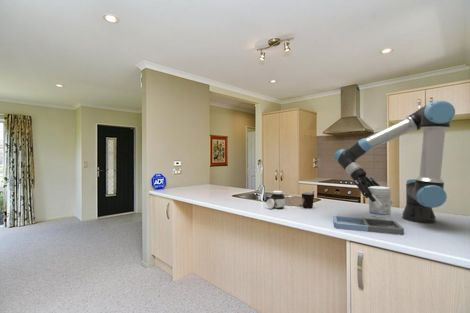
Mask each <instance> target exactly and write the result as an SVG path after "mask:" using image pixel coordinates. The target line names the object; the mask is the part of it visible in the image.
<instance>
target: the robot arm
mask: <svg viewBox="0 0 470 313" xmlns="http://www.w3.org/2000/svg"><path fill="white" fill-rule="evenodd" d="M455 115H456V109H455V106H454V105H453V104H452V103H450V102H448V101H446V100H436V101H435V100H434V101H432V102H429V103H428V104H426V105H424V106H421V107H420V108H419V109H417V110H416V111H415V112H412V113H411V114H410V115H408V116H406V117H405V119H403V120H401V121H399V122H397V123H394V124H393V125H390V126H388V127H386V128H385V129H383V130H380V131H378V132H376V133H374V134H372V135H369V136H367V137H366V138H361V139H360V140H358V141H357V142H354V143H353V144H351V145H350V147H349V148H347V149H345V148H340V149H338V150H337V151H336V152H335V153H334V156H333V158H334V159H335V160H336V161H337V163H338V164H339V165H340V167H341V168H342V169H343V170H344V171H345V172H346V173H347V175H349V176H350V178H351V179H352V180H353V181H354V182H353V183H354V184H355V185H356V186H357V188H358V190H359V191H360V193H361V194H362V195H363V197H365V199H368V200H369V199H370V200H371V201H372V202H373V203H374V204H375V206H376V207H377V208H379V207H381V206H382V204H381V203H380V201H379V200H378V199H377V198H376V197H375V196H374V195H373V194H372V195H371V192H370V190H369V187H370V186H381V185H380V184H379V183H378V182H377V181H376V180H374V178H373V177H370V178H369V177H368V176H367V172H366V171H365V169H364V168H363V167H362V166H361V165H360V164H359V163H358V162H357V160H358V159H359V158H361V157H362V156H364V155H365V154H366V153H368V152H369V151H372V150H373V149H375V148H377V147H379V146H382V145H383V144H386V143H388V142H391V141H393V140H395V139H398V138H400V137H401V136H403V135H404V136H405V135H406V134H408V133H410V132H412V131H413V132H417V131H419V130H422V131H423V132H422V134H423V135H422V144H421V155H420V164H419V165H420V166H419V175H418V177H416V178H415V179H414V178H413V179H412V178H411V179H407V180H406V184H405V187H406V190H405V193H406V194H405V195H406V196H405V199H406V202H405V207H404V210H403V211H402V218H403V219H405V220H407V221H410V222H415V223H424V224H433V223H436V219H437V218H436V216H435V212H434V211H433V209H434V208H439V207H441V206H442V205H444V204H445V202H446V201H447V198H448V197H447V196H448V195H447V192H446V191H445V189H444V186H445V181H444V180H442V167H443V156H444V148H445V137H446V132H447V131H448V130H449V129H450V126H451V121H452V120H453V119H454V118H455ZM394 202H395V201H393V200H392V199H391V205H392V204H393V203H394Z"/></svg>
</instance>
